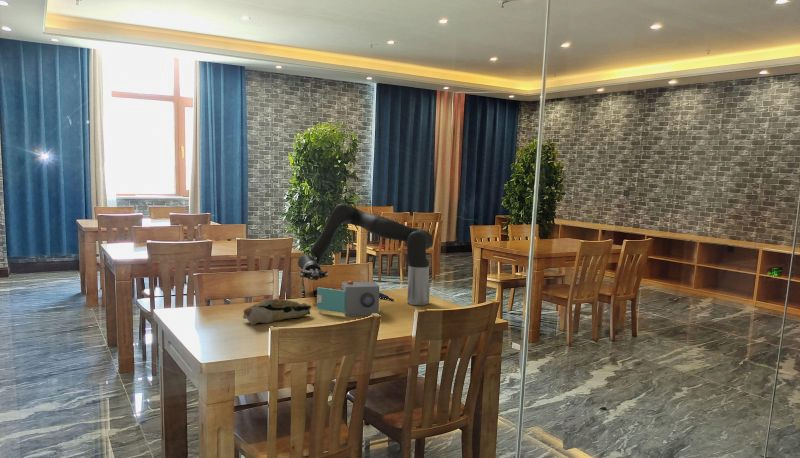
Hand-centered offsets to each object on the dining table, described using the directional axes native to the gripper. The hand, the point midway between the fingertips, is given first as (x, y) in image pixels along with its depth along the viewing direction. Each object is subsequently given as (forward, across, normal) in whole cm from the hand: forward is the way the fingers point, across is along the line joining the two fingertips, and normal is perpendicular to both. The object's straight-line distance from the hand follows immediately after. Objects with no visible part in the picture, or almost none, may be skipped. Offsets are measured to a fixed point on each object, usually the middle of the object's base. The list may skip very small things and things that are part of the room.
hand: (316, 277), depth 240 cm
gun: (-11, +26, +13) cm, 31 cm away
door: (+17, +4, +10) cm, 20 cm away
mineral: (+22, -16, +12) cm, 30 cm away
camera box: (+15, +17, +12) cm, 26 cm away
